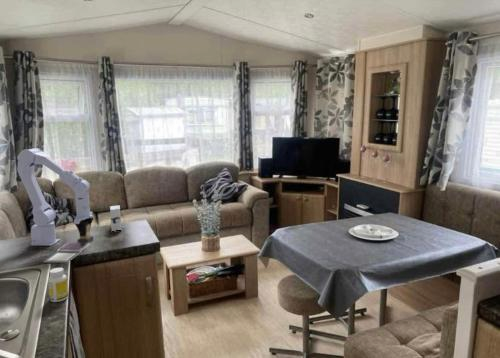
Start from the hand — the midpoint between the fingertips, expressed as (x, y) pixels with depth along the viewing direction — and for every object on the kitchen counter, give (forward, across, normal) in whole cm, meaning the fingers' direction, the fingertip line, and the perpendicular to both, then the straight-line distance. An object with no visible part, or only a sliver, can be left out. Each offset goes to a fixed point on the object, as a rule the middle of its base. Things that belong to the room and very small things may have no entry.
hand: (85, 234), depth 173 cm
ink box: (+4, +20, -7) cm, 22 cm away
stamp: (+3, 0, 0) cm, 3 cm away
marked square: (+4, -20, +1) cm, 20 cm away
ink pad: (+4, -9, +1) cm, 10 cm away
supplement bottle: (+4, -54, -16) cm, 56 cm away
